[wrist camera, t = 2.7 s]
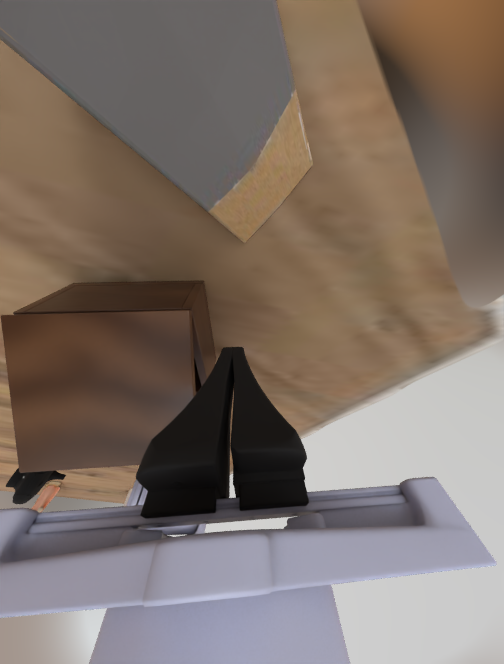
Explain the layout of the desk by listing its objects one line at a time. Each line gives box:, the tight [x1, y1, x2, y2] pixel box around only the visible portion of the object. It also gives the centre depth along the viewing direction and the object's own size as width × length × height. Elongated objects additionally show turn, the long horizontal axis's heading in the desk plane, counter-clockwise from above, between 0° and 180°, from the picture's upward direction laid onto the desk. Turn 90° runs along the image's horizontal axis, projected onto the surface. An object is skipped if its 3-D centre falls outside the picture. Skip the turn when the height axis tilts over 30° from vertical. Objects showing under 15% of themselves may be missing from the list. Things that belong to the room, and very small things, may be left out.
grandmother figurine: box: [32, 481, 61, 513], centre depth 45 cm, size 8×4×13 cm, turn 136°
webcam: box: [6, 468, 66, 504], centre depth 33 cm, size 8×8×10 cm
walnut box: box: [13, 281, 216, 394], centre depth 20 cm, size 12×14×6 cm
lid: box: [1, 310, 196, 473], centre depth 14 cm, size 12×14×1 cm
